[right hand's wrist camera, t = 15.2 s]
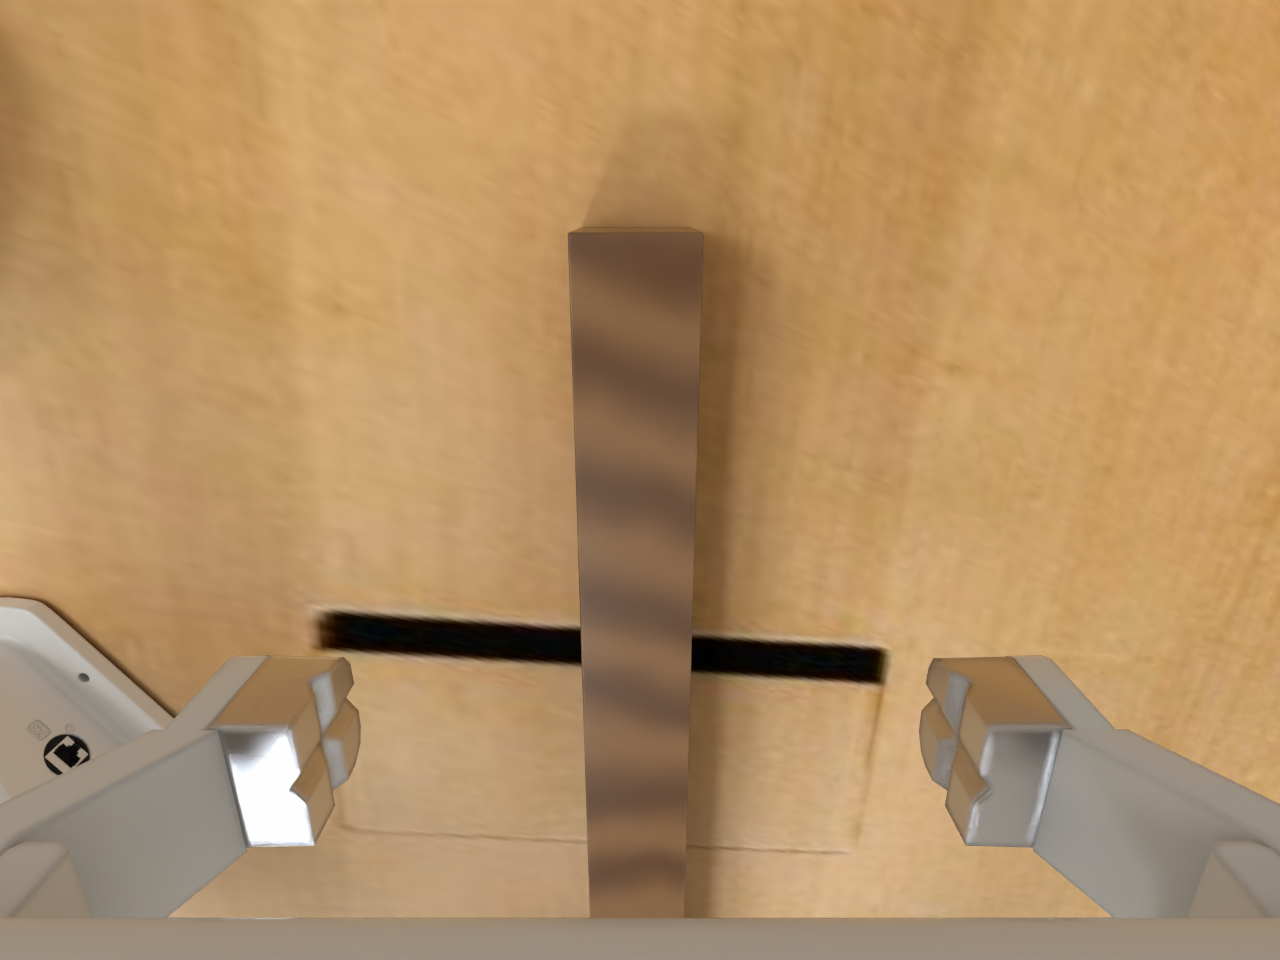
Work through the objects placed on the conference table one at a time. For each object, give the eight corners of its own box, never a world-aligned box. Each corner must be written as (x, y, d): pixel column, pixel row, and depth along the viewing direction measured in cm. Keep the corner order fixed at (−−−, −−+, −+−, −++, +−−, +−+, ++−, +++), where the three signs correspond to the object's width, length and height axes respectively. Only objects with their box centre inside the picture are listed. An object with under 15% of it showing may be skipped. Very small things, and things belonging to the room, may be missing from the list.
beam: (579, 227, 34) (567, 232, 28) (692, 227, 34) (703, 232, 28) (606, 1203, 60) (602, 1312, 54) (669, 1203, 60) (672, 1311, 54)
